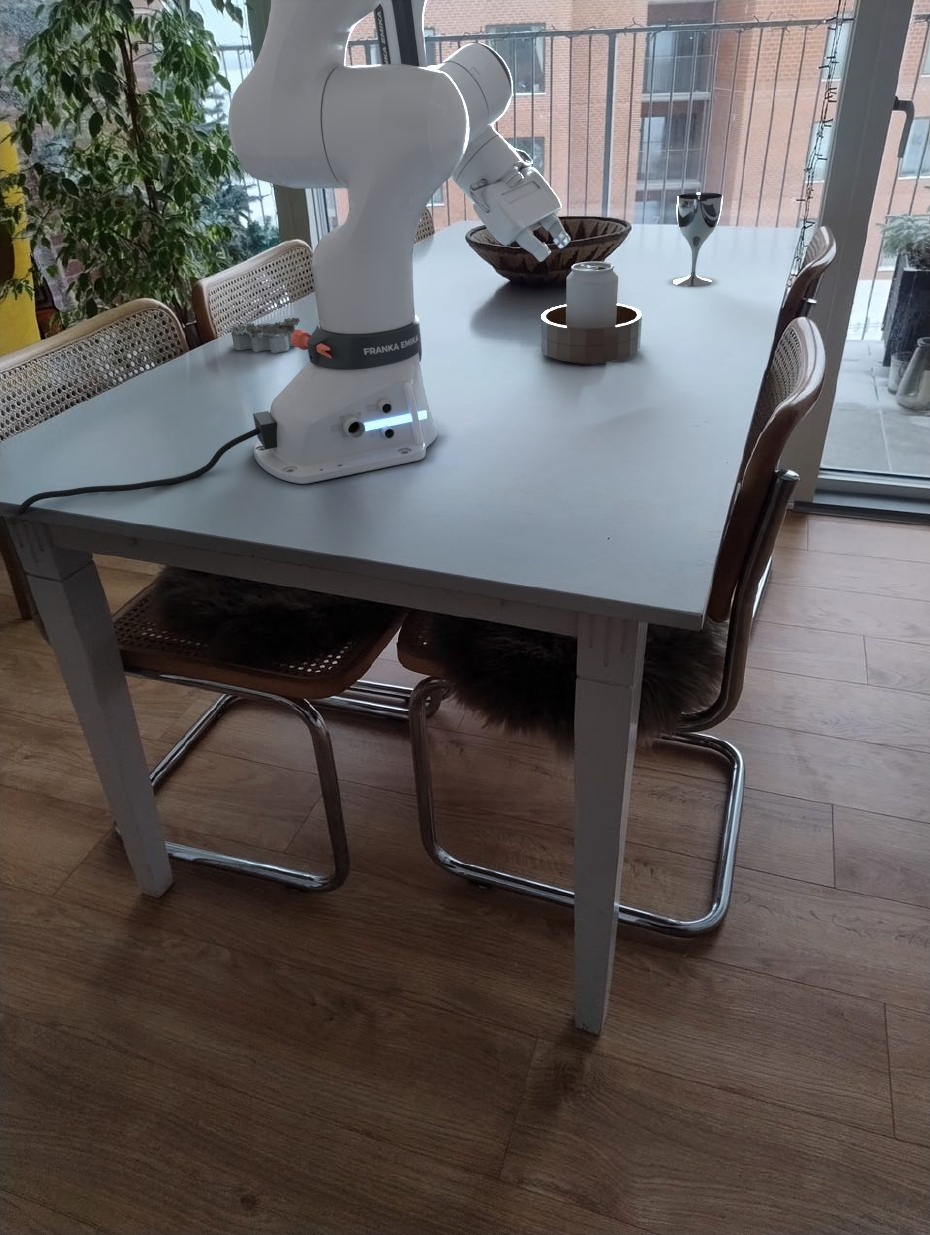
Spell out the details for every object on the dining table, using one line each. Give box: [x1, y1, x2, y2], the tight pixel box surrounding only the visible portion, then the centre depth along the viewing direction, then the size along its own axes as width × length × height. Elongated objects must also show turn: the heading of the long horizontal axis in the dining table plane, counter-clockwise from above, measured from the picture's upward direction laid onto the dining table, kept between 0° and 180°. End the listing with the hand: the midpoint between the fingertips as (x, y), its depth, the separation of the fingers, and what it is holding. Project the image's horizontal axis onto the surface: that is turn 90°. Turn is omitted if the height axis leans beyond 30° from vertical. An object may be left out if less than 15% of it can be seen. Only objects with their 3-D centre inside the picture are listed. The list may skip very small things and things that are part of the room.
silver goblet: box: [673, 192, 724, 288], centre depth 162 cm, size 8×8×15 cm
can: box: [565, 261, 619, 328], centre depth 129 cm, size 8×8×12 cm
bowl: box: [540, 303, 643, 365], centre depth 131 cm, size 15×15×6 cm
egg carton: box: [226, 317, 301, 354], centre depth 143 cm, size 11×8×4 cm
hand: (556, 251), depth 127 cm, fingers open, 8 cm apart
